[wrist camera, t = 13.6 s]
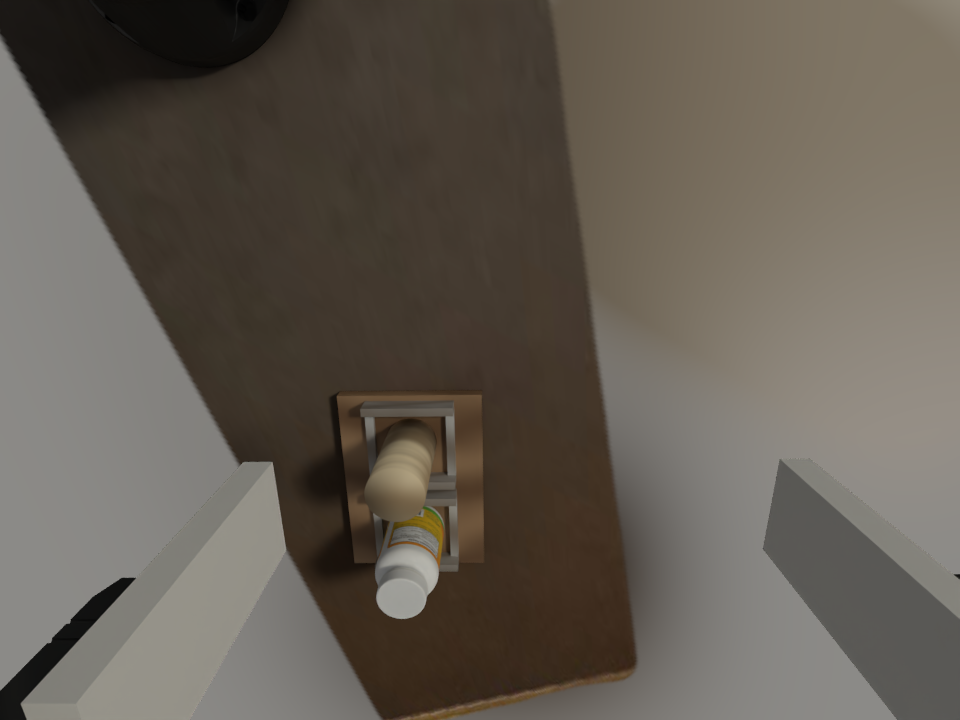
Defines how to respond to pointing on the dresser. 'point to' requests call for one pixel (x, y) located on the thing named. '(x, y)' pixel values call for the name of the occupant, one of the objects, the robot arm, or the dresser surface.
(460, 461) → the board
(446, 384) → the dresser surface
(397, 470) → the beech dowel
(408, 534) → the supplement bottle
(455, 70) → the dresser surface
